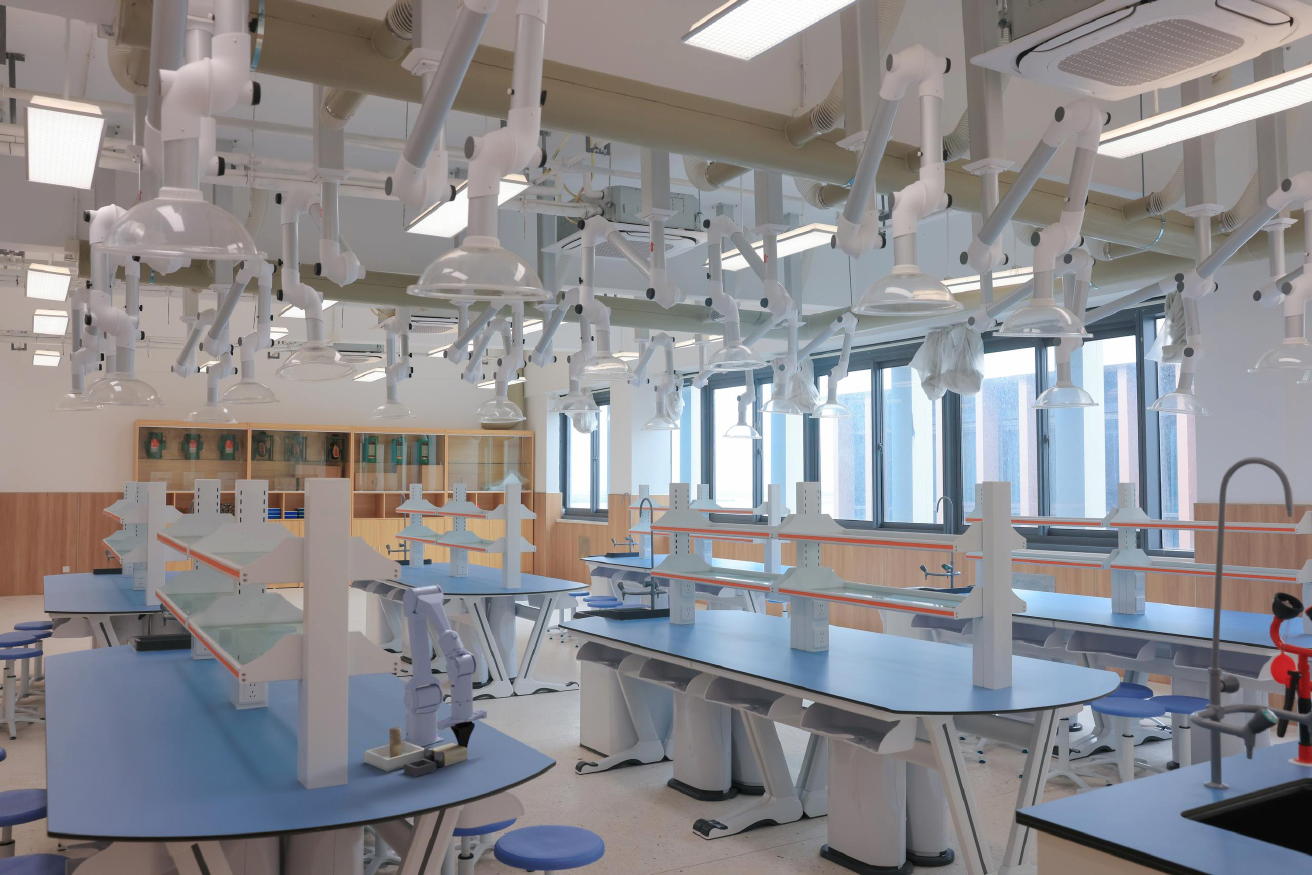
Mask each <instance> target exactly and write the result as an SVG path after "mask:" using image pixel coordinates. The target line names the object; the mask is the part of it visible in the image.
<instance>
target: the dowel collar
mask: <svg viewBox="0 0 1312 875" xmlns="http://www.w3.org/2000/svg"><path fill="white" fill-rule="evenodd" d="M403 768H404V769H403V770H404V773H407V774H409V775H412V776H414V777H419V776H420V777H421V776H424V775H427V774H429V773H434V772H436V771H437V768H436V763H435V762H433V761H430V760H427V759H425V758H423V759H420V760H416V761H412V762H409V763H405V764H404V767H403Z"/></svg>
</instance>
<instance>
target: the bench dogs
mask: <svg viewBox="0 0 1312 875" xmlns="http://www.w3.org/2000/svg"><path fill="white" fill-rule="evenodd" d="M433 748H434V747H425V749H424V758H425V759H427V760H430V761H433ZM434 762H435V763H436V769H441V768H444V767H445V766H444V752H442V751H439V752H435V753H434Z"/></svg>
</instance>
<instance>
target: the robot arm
mask: <svg viewBox="0 0 1312 875" xmlns="http://www.w3.org/2000/svg"><path fill="white" fill-rule="evenodd" d="M403 593H404V594H403V595H402V604H403V614H404V617H405V618H407V624H408V634H409V635H408V636H409V646H410V654H411V655H410V657H411V665H412V677H411V678H409V680H408V681H407V682H405V684H404V696H403V702H404V706H405V709H407V712H406V714H405V718H404V729H405V730H404V735H405V737H404V738H402V741H406V742H408V743H411V744H414V745H417V746H419V747H422V748H423V747H425V746H429V745H431V744H435V743H440V742H443V741H444V740H445V738H443V737H440V736H439V734H438V730H440V731H443V730H445V729H447V728H450V729H451V731H452V733H453V734H454V736H455V739H456V742H457V745H460V746H463V747H466V748H467V749H468V745H469V741H470V738H471V735H472V733H473V731H474V729H475V727H476V725H475V723H474V722H473V721H477V720H480V719H483V720H484V719H487V717H488V716H487V715H488V714H487V712H488V711H487V710H484V709H481V710H476V711H475V710H474V707H473V706H474V702H473V700H474V699H473V698H474V697H473V696H474V694H473V691H474V690H473V675H474V674H475V673H476V671H477V660H476V658H475V655H474V653H471V652H470V651H469V650H468V649H466V647H465V645H464V644H463V642H462V639H461V637H460V635H459V632H457V631H455V630H452V628H451V625H450V622H449V619H448V617H447V614H446V612H445V607H444V602H445V595H444V591H443V588H442V587H441V586H440V585H439V584H437V583H436V584H433V585H426V586H425V585H423V586H418V587H408V588H406V590H405V591H404V592H403ZM428 618H429V620H430V621H431V624H432V625H433V627H434V629H435V631H436V632H437V634H438V635H439V637H438V641H437V643H438V645H439V647H440V650H441V652H442V655H443V656H444V658H445V660H446V664H445V671H446V674H447V677H448V684H450V703H451V704H450V706H451V707H450V709H451V710H450V712H451V715H449V716H448V717H446V718H443V719H441V720H438V709H439V710H440V706H441V705H442V704H443V701H444V690H443V689H442V684H441V680H440V678H439V677H437V676H435V675H434V674H433V673H432V672H433V671H432V663H431V653H430V644H429V633H428V622H427V619H428Z"/></svg>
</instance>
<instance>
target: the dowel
mask: <svg viewBox="0 0 1312 875" xmlns="http://www.w3.org/2000/svg"><path fill="white" fill-rule="evenodd" d="M401 741H402V727H398V726H396V727H391V728H389V744H390V758H393V757H396V756H400V755H402V749H401Z"/></svg>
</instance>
